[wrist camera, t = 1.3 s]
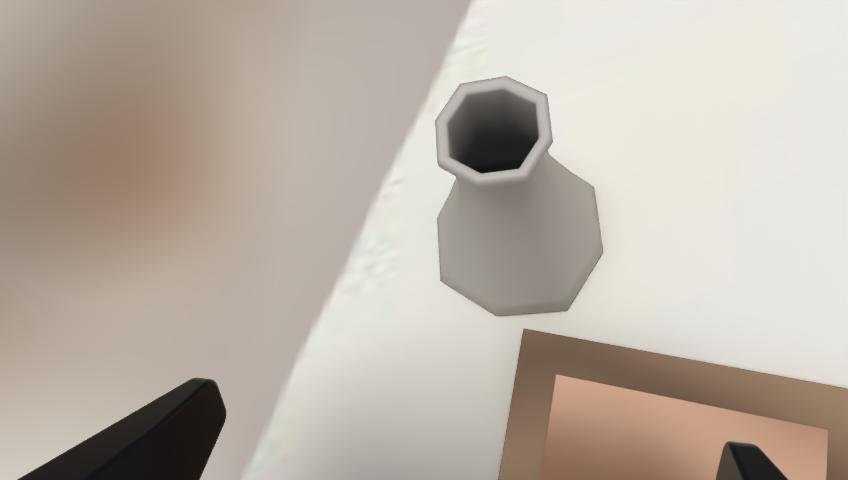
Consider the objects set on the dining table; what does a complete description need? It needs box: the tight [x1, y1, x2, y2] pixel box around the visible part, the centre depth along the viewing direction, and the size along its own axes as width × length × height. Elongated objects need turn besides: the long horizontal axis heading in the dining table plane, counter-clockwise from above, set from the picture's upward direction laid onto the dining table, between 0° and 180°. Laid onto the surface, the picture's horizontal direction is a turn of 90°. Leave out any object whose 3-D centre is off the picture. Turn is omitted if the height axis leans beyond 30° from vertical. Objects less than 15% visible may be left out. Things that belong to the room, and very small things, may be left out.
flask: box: [435, 76, 603, 316], centre depth 19 cm, size 7×7×10 cm
